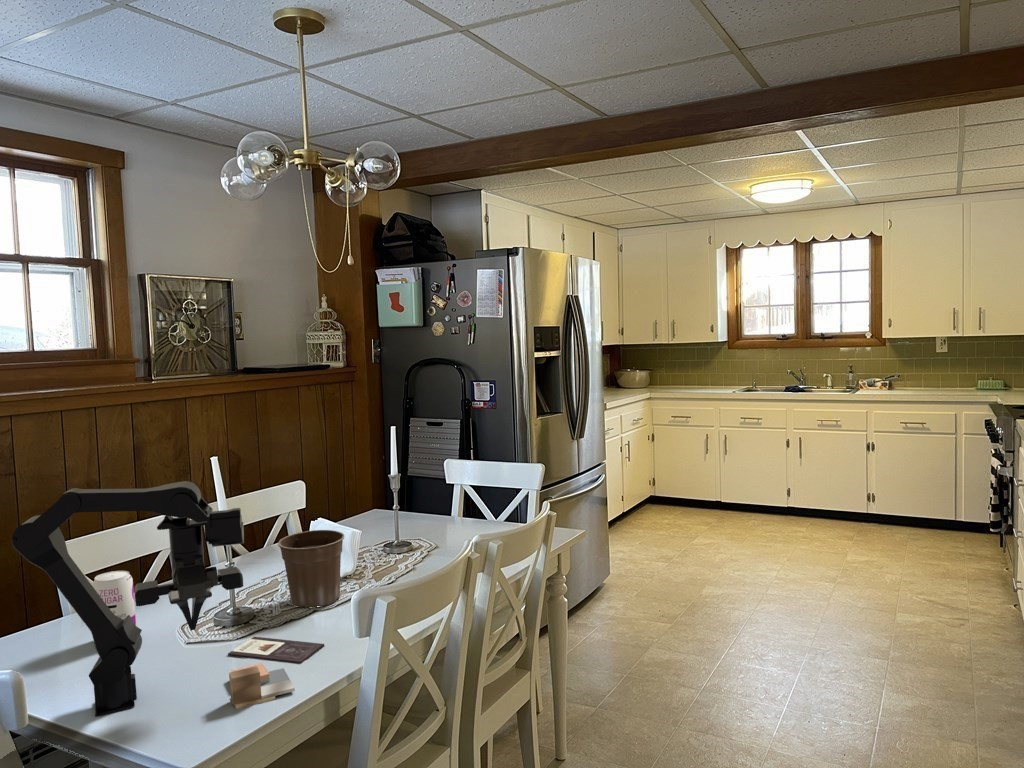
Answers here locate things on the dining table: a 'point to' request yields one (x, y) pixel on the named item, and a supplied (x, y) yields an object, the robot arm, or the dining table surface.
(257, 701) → the rest
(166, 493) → the robot arm
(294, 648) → the chocolate bar
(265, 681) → the tile
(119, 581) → the supplement can
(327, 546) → the plant pot
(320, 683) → the dining table surface
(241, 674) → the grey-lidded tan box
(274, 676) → the plate
